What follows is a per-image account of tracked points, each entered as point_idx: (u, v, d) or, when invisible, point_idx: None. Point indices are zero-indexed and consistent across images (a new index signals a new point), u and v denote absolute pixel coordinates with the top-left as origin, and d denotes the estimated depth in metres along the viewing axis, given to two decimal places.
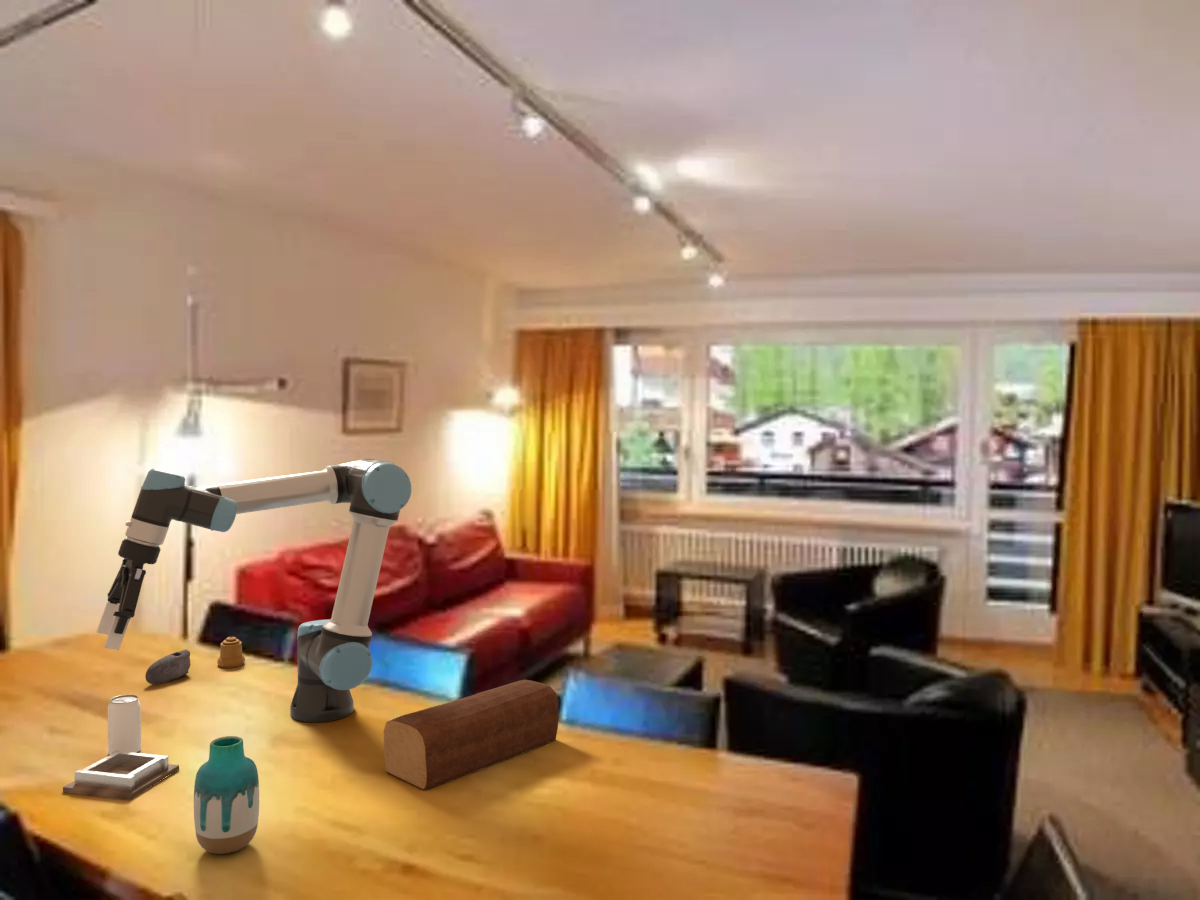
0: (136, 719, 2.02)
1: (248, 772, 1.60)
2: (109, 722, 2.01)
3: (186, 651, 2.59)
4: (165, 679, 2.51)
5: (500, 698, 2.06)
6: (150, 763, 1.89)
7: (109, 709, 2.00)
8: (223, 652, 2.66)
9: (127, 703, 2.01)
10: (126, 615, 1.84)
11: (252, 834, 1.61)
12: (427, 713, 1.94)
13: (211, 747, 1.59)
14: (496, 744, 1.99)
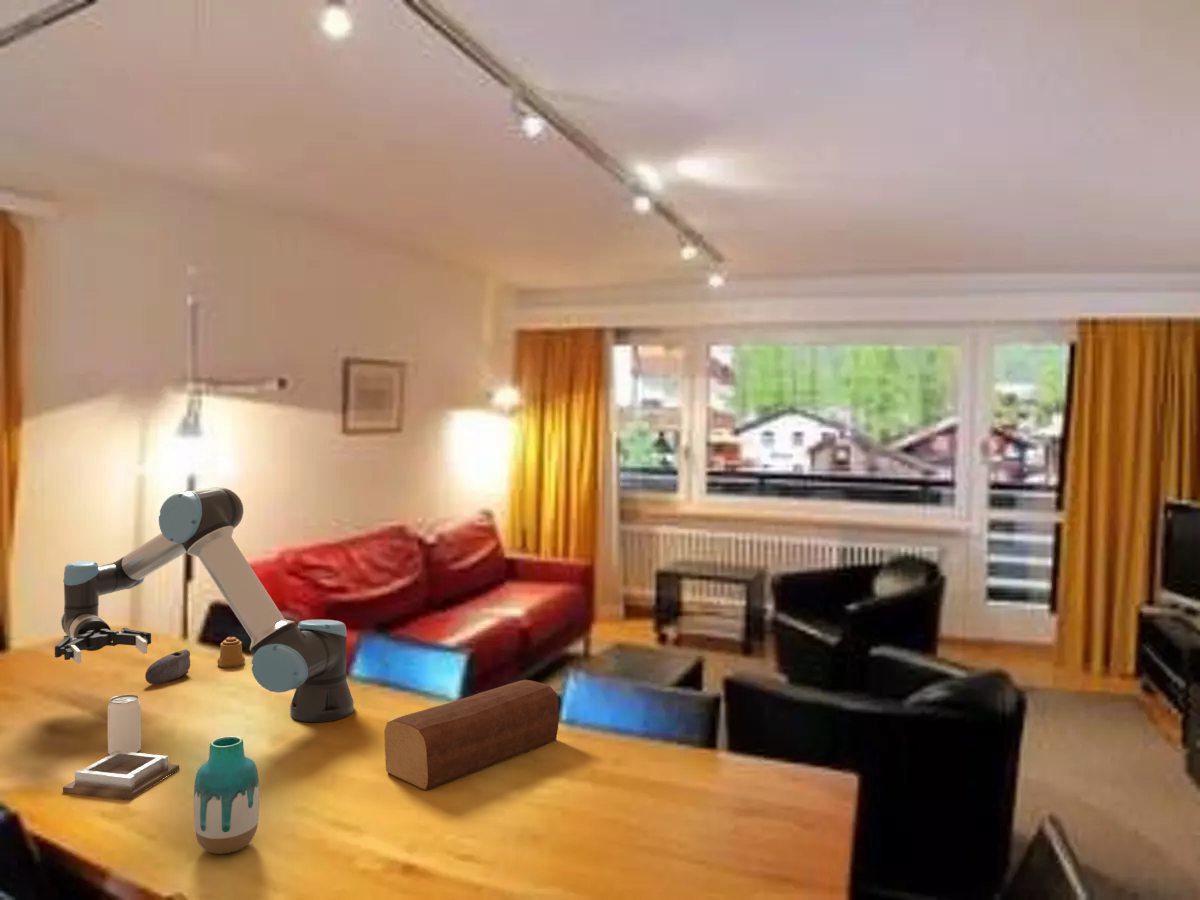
0: (136, 719, 2.02)
1: (248, 772, 1.60)
2: (109, 722, 2.01)
3: (186, 651, 2.59)
4: (165, 679, 2.51)
5: (500, 698, 2.05)
6: (150, 763, 1.89)
7: (109, 709, 2.00)
8: (223, 652, 2.66)
9: (127, 703, 2.01)
10: (56, 652, 2.09)
11: (252, 834, 1.61)
12: (428, 713, 1.94)
13: (211, 747, 1.59)
14: (496, 744, 1.99)
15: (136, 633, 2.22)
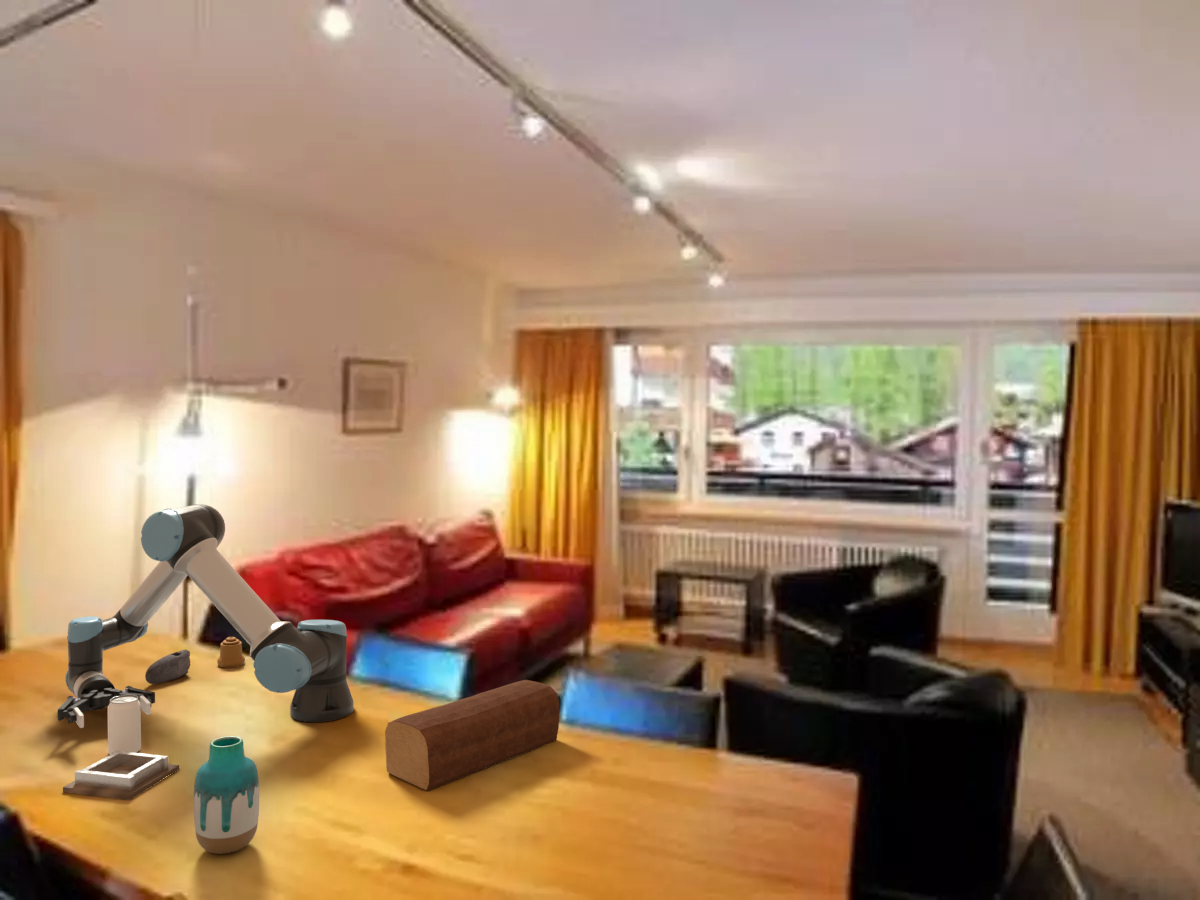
0: (136, 719, 2.02)
1: (248, 772, 1.60)
2: (109, 722, 2.01)
3: (186, 651, 2.59)
4: (165, 679, 2.51)
5: (501, 698, 2.05)
6: (150, 763, 1.89)
7: (109, 709, 2.00)
8: (223, 652, 2.66)
9: (127, 703, 2.01)
10: (59, 715, 2.06)
11: (252, 834, 1.61)
12: (429, 714, 1.94)
13: (211, 747, 1.59)
14: (497, 745, 1.99)
15: (140, 692, 2.20)
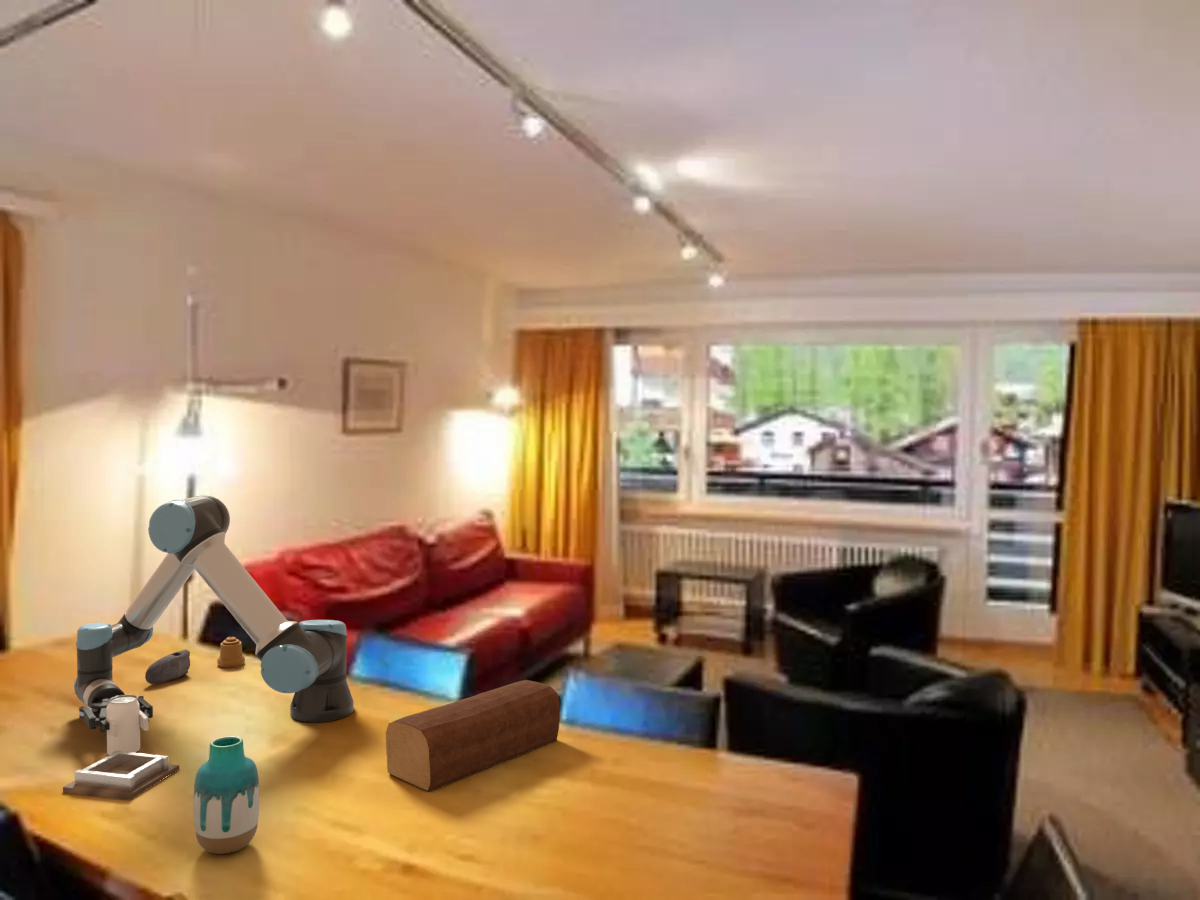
0: (135, 719, 2.02)
1: (248, 772, 1.60)
2: None
3: (186, 651, 2.59)
4: (165, 679, 2.51)
5: (501, 699, 2.05)
6: (150, 763, 1.89)
7: (107, 709, 2.00)
8: (223, 652, 2.66)
9: (125, 703, 2.01)
10: (91, 724, 2.01)
11: (252, 834, 1.61)
12: (430, 714, 1.94)
13: (211, 747, 1.59)
14: (498, 745, 1.99)
15: (142, 704, 2.11)
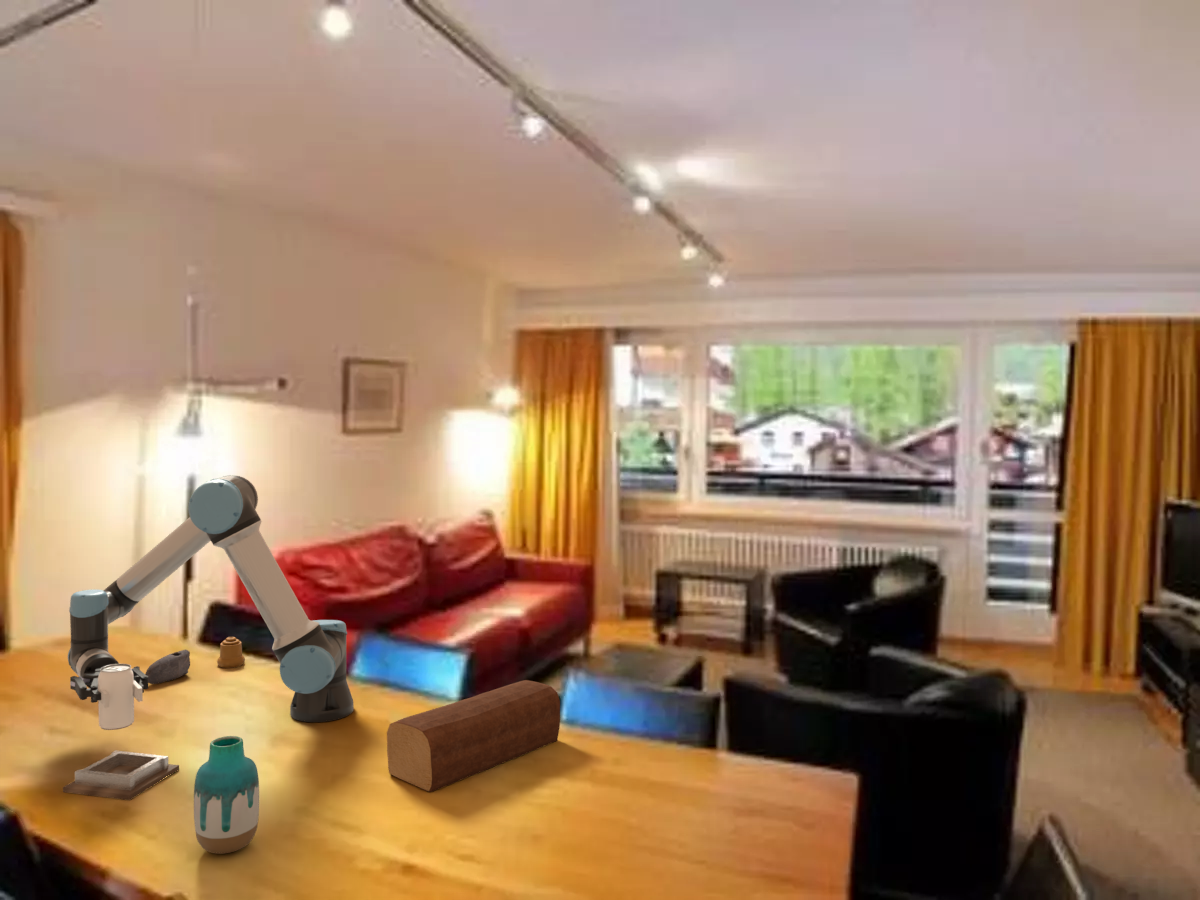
0: (128, 689, 1.89)
1: (248, 772, 1.60)
2: None
3: (186, 651, 2.59)
4: (165, 679, 2.51)
5: (502, 699, 2.05)
6: (150, 763, 1.89)
7: (99, 678, 1.87)
8: (223, 652, 2.66)
9: (118, 672, 1.87)
10: (81, 694, 1.88)
11: (252, 834, 1.61)
12: (431, 715, 1.94)
13: (211, 747, 1.59)
14: (499, 745, 1.99)
15: (137, 675, 1.98)
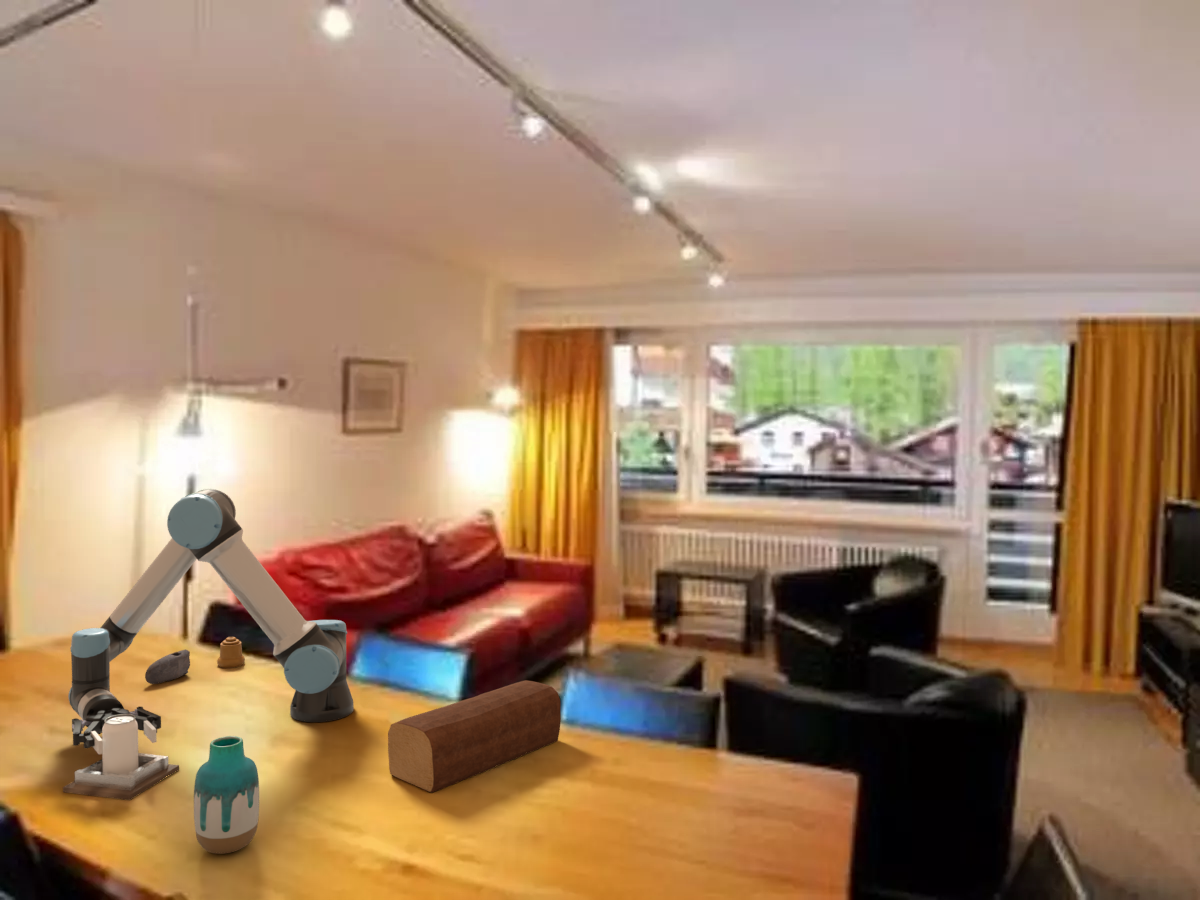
0: (133, 741, 1.87)
1: (248, 772, 1.60)
2: (104, 744, 1.85)
3: (186, 651, 2.59)
4: (165, 679, 2.51)
5: (503, 699, 2.05)
6: (150, 763, 1.89)
7: (103, 730, 1.85)
8: (223, 652, 2.66)
9: (123, 724, 1.86)
10: (74, 739, 1.85)
11: (252, 834, 1.61)
12: (432, 715, 1.93)
13: (211, 747, 1.59)
14: (500, 745, 1.99)
15: (147, 715, 1.97)
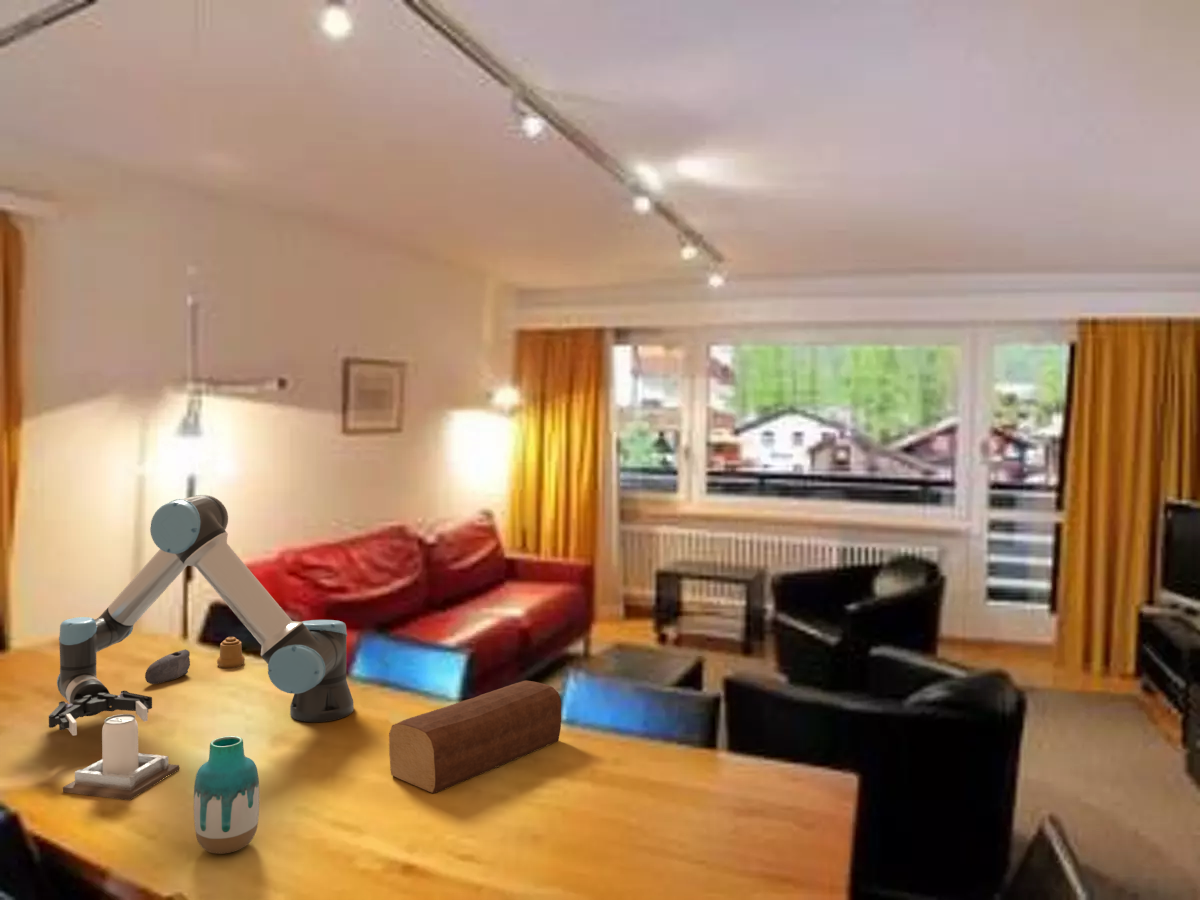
0: (133, 741, 1.87)
1: (248, 772, 1.60)
2: (104, 744, 1.85)
3: (186, 651, 2.58)
4: (165, 679, 2.51)
5: (504, 699, 2.05)
6: (150, 763, 1.89)
7: (103, 730, 1.85)
8: (223, 652, 2.66)
9: (123, 724, 1.86)
10: (50, 722, 1.95)
11: (252, 834, 1.61)
12: (433, 716, 1.93)
13: (211, 747, 1.59)
14: (501, 746, 1.98)
15: (136, 697, 2.08)
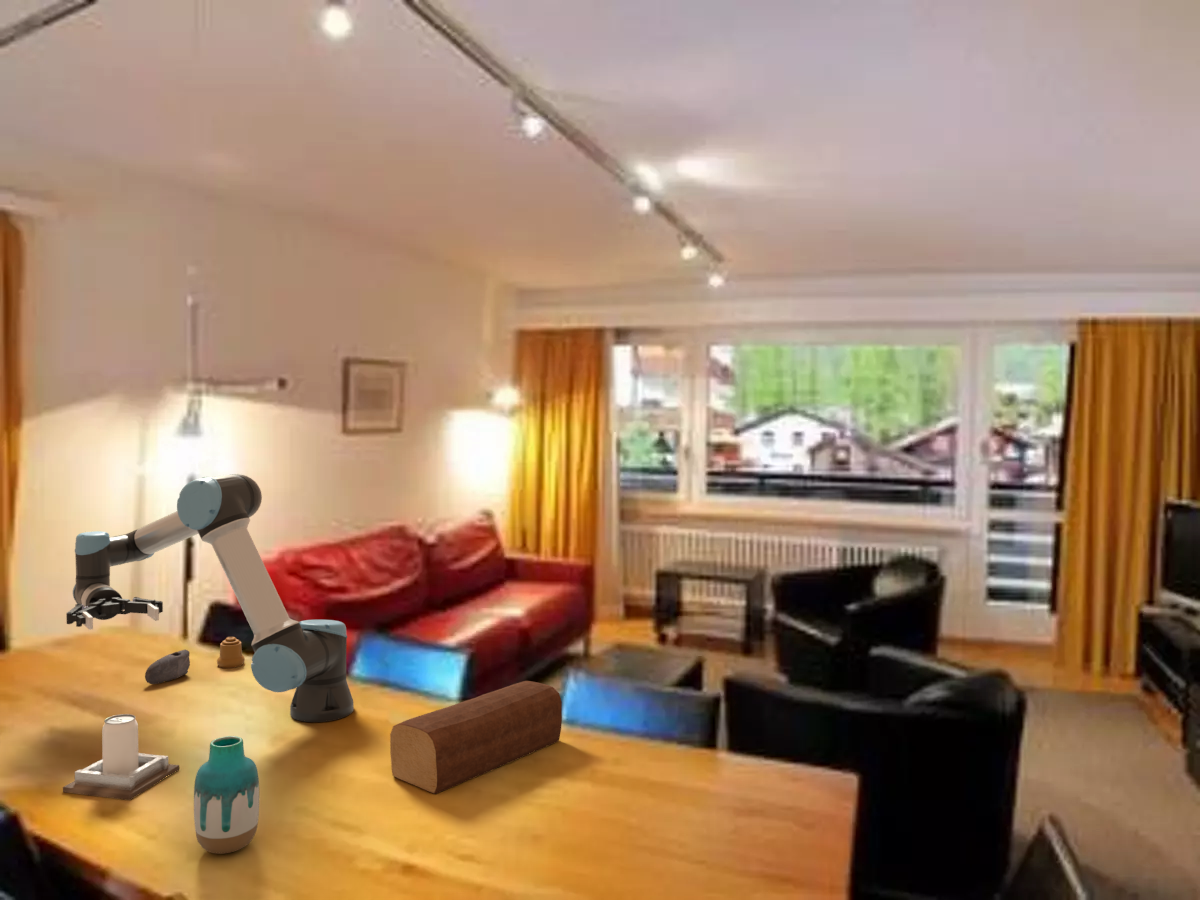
0: (133, 741, 1.87)
1: (248, 772, 1.60)
2: (104, 744, 1.85)
3: (185, 651, 2.58)
4: (165, 679, 2.51)
5: (505, 700, 2.04)
6: (150, 763, 1.89)
7: (103, 730, 1.85)
8: (223, 652, 2.66)
9: (123, 724, 1.86)
10: (67, 618, 2.08)
11: (252, 834, 1.61)
12: (435, 716, 1.93)
13: (211, 747, 1.59)
14: (503, 746, 1.98)
15: (148, 601, 2.21)
